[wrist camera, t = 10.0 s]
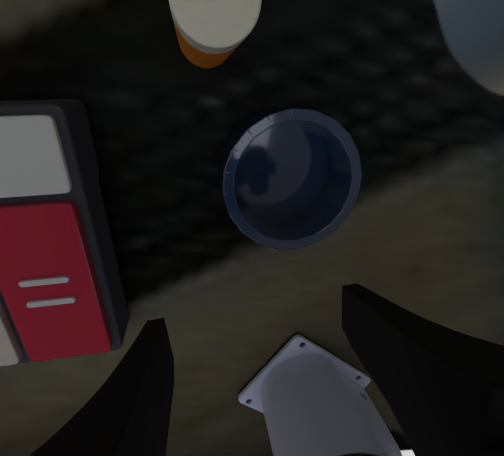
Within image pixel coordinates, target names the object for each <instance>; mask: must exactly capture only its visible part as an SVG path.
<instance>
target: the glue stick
mask: <svg viewBox="0 0 504 456" xmlns="http://www.w3.org/2000/svg"><path fill="white" fill-rule="evenodd" d="M261 2H262V0H169V4H170V9H171V13H172V17H173V21H174V25H175V29H176V33H177V37H178V41H179V45H180V48H181V50H182V52H183V54H184V55H185V57H186V58H187V59H188V60H189V61H190V62H191V63H193V64H194V65H196V66H199V67H202V68H213V67H216V66H218V65H220V64H221V63H223V62H224V61H225V60H226V59H227V58H228V56H229V55H230V54H231V53H232V52H233V51H234V50H235V49H236V48H237V47H238V46H239V44H240V43H241V42H242V41H243V40H244V39H245V38H246V37H247V36H248V35H249V33H250V32H251V31H252V29H253V28H254V26H255V24H256V22H257V20H258V17H259V14H260V9H261Z"/></svg>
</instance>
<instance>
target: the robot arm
mask: <svg viewBox="0 0 504 456" xmlns="http://www.w3.org/2000/svg"><path fill="white" fill-rule="evenodd" d="M342 328H343V330H344V332H345V334H346V337H347V339H348V341H349V343H350V345H351V347H352V349H353V350H354V352H355V353H356V355H357V356H358V358H359V359H360V361H361V363H362V364H363V366H364V367H365V369H366V370H367V372H368V373H369V375H370V376H371V378H372V379H373V381H374V382H375V384H376V385H377V387H378V388H379V390H380V391H381V393H382V394H383V396H384V398H385V399H386V401H387V402H388V404H389V406H390V408H391V409H392V411H393V413H394V415H395V417H396V419H397V421H398V423H399V425H400V426H401V428H402V430H403V432H404V434H405V436H406V438H407V440H408V442H409V444H410V446H411V448H412V450H413V452H414V454H415V456H504V346H503V345H499V344H495V343H491V342H488V341H484V340H481V339H478V338H475V337H472V336H469V335H465V334H463V333H460V332H457V331H454V330H451V329H449V328H446V327H444V326H441V325H439V324H436V323H434V322H431V321H429V320H427V319H425V318H422V317H420V316H418V315H416V314H414V313H412V312H410V311H408V310H406V309H404V308H402V307H400V306H398V305H396V304H394V303H392V302H390V301H388V300H387V299H385V298H383V297H381V296H379V295H378V294H376V293H374V292H372V291H370V290H368V289H367V288H365V287H363V286H361V285H359V284H357V283H356V284H350V285H345V286H342ZM303 342H304V343H303ZM301 343H303V344H301ZM369 383H370V378H369V377H368V376H367V375H366V374H364V373H362V372H361V371H359V370H357V369H356V368H354V367H353V366H351V365H349V364H348V363H346V362H344V361H343V360H341V359H339V358H338V357H336V356H334V355H333V354H331V353H329V352H328V351H326V350H324V349H323V348H321V347H320V346H318V345H316V344H315V343H313V342H311V341H310V340H308V339H306V338H305V337H303V336H301V335H295V336H293V337H292V338H291V339H290V340H289V342H288V343H287V344H286V345H285V346H284V347H283V348H282V349H281V350H280V351H279V352H278V353H277V354H276V355H275V356H274V357H273V359H272V360H271V361H270V362H269V363H268V364H267V365H266V366H265V367H264V368H263V369H262V370H261V371H260V372H259V373H258V374H257V376H256V377H255V378H254V379H253V380H252V381H251V382H250V383H249V384H248V385H247V386H246V387H245V388H244V389H243V390H242V391H241V393H240V394H239V395H238V400H239V402H240V403H242V404H244V405H247V406H249V407H251V408H253V409H255V410H258V411H260V412H262V413H264V416H265V420H266V425H267V429H268V434H269V438H270V442H271V447H272V451H273V456H402V455H401V452H400V449H399V447H398V445H397V443H396V442H395V440H394V438H393V437H392V435H391V433H390V432H389V430H388V428H387V426H386V425H385V423H384V421H383V420H382V418H381V416H380V415H379V413H378V411H377V410H376V408H375V406H374V404H373V403H372V401H371V399H370V398H369V396H368V394H367V393H366V391H365V389H364V388H365V387H366V386H367V385H368V384H369ZM173 387H174V358H173V353H172V349H171V345H170V341H169V337H168V333H167V328H166V324H165V320H164V318H161V319H155V320H149V321H147V322H146V324H145V325H144V327H143V328H142V330H141V332H140V333H139V335H138V336H137V338H136V340H135V341H134V343H133V344H132V346H131V347H130V349H129V350H128V352H127V353H126V354H125V356H124V357H123V359H122V360H121V362H120V363H119V364H118V366H117V367H116V368H115V370H114V371H113V372H112V374H111V375H110V376H109V378H108V379H107V380H106V381H105V383H104V384H103V385H102V386H101V388H100V389H99V390H98V391H97V392H96V393H95V395H94V396H93V397H92V398H91V399H90V400H89V401H88V402H87V403H86V404H85V405H84V407H83V408H82V409H81V410H80V411H79V412H77V413H76V414H75V415H74V416H73V417H72V418H71V419H70V420H69V421H68V422H67V423H66V424H65V425H64V426H63V427H62V428H61V429H60V430H59V431H58V432H57V433H56V434H54V435H53V436H52V437H51V438H50V439H49V440H48V441H47V442H45V443H44V444H43V445H42V446H41V447H39V448H38V449H37V450H36V451H35V452H33V453H32V454H31V455H30V456H166V446H167V437H168V429H169V421H170V413H171V404H172V396H173ZM248 399H249V400H248Z"/></svg>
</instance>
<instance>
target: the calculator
mask: <svg viewBox="0 0 504 456" xmlns="http://www.w3.org/2000/svg"><path fill="white" fill-rule="evenodd" d="M128 320H129V313H128V309H127V304H126V300H125V296H124V291H123V287H122V282H121V278H120V273H119V269H118V264H117V260H116V255H115V251H114V247H113V242H112V238H111V233H110V229H109V224H108V220H107V215H106V211H105V207H104V202H103V198H102V193H101V189H100V184H99V169H98V162H97V157H96V152H95V148H94V143H93V139H92V134H91V130H90V125H89V120H88V116H87V112H86V108H85V105H84V103H83V102H82V101H80V100H78V99H48V100H15V101H0V366H6V365H13V364H17V363H22V362H30V361H43V360H51V359H58V358H65V357H73V356H80V355H87V354H95V353H102V352H107V351H111V350H117V349H119V348H120V347H121V346H122V343H123V340H124V336H125V332H126V328H127V324H128Z"/></svg>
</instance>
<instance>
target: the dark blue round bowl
mask: <svg viewBox="0 0 504 456" xmlns="http://www.w3.org/2000/svg"><path fill="white" fill-rule="evenodd" d="M361 178H362V172H361V163H360V155H359V152H358V150H357V148H356V146H355V144H354V141H353V139H352V137H351V135H349V133H348V132H347V131H346V130H345V129H344V128H343V127H342V126H341V125H340V124H339V123H338V122H337V121H336V120H335V119H333V118H332V117H329V116H327V115H325V114H323V113H320V112H318V111H316V110H312V109H303V108H294V107H278V106H276V107H270V108H265V109H262V110H259V111H256V112H254V113H252V114H250V115H249V116H247V117H246V118H244V119H243V120H241V121H240V122H239V123H238V124H237V125H236V126H235V127H234V128H233V129H232V131H231V132H230V133H229V135H228V136H227V138H226V140H225V142H224V144H223V146H222V149H221V152H220V156H219V161H218V181H219V184H220V187H221V191H222V194H223V197H224V201H225V204H226V207H227V210H228V213H229V215H230V217H231V218H232V220H233V221H234V223H235V224H236V225H237V227H238V228H239V229H240V231H241V232H242V233H244V234H245V235H246V236H248V237H249V238H251V239H252V240H254V241H255V242H256V243H259V244H262V245H265V246H269V247H272V248H275V249H297V248H301V247H304V246H307V245H311V244H314V243H316V242H319V241H320V240H322V239H323V238H325V237H326V236H328V235H329V234H331V233H332V232H334V231H335V230H336V229H337V228H338V227H339V225H340V224H341V223H342V222H343V221H344V220H345V219H346V218H347V216H348V215H349V213H350V211H351V209H352V207H353V205H354V203H355V201H356V199H357V196H358V194H359V189H360V183H361Z"/></svg>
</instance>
